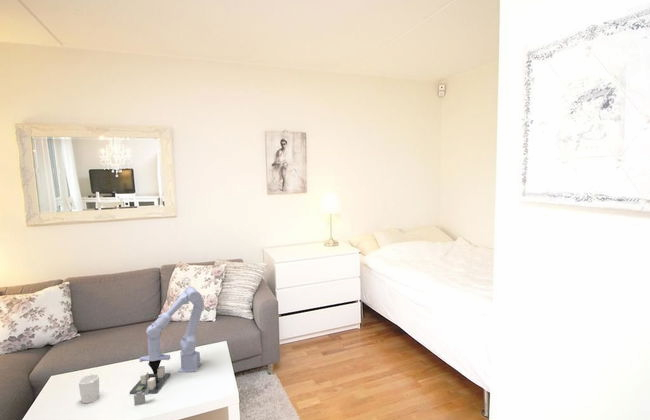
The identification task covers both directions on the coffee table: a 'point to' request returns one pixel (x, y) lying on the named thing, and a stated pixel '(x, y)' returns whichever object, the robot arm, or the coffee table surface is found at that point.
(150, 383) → the switch
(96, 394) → the white cup
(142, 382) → the switch
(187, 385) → the coffee table surface
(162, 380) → the switch unit
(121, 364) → the coffee table surface
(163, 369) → the switch
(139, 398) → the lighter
